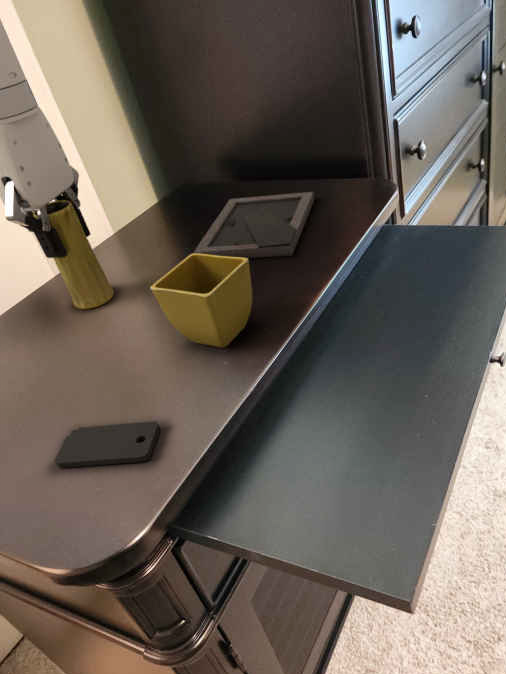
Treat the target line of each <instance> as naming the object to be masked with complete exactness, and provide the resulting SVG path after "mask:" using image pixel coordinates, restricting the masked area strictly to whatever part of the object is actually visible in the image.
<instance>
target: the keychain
mask: <svg viewBox="0 0 506 674" xmlns="http://www.w3.org/2000/svg"><path fill="white" fill-rule="evenodd" d="M160 430H161V427H160V426H159V423H158V422H157V421H156V420H155V421H142V422H130V423H119V424H105V425H95V426H84V427H78V429H77V430H76V429H75V430H74V429H73V430H72V431H71V432H70V434H69V435H66V437H65V439H64V441H63V442H62V445H61V447H60V449H59V450H58V452H57V454H56V456H55V458H54V463H55V464H56V466H57V467H58V468H60V469H62V468H74V467H88V466H89V467H90V466H102V465H116V464H129V463H130V464H131V463H143V462H147V461H148V460H150V458H151V457H152V453H153V451H154V447H155V444H156V441H157V439H158V437H159V436H158V435H159V432H160Z"/></svg>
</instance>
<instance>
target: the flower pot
mask: <svg viewBox="0 0 506 674" xmlns="http://www.w3.org/2000/svg"><path fill="white" fill-rule="evenodd" d="M150 291H151V292H152V294H153V296H154V297H155V299H156V301H157V303H158V304H159V306H160V308H161V310H162V311H163V314H164V315H165V317H166V318H167V319H168V321H169V323H171V325H172V326H173V327H174V328H175V329H176V330H177V332H179V333H180V334H181V335H182V336H184V337H186V338H187V339H188V340H190V341H192V342H193V343H194V344H201V345H206V346H210V347H211V346H212V347H216V348H222V349H223V348H226V347H228V346H229V345H230V343H231V342H232V341H233V340H234V339H235V338H236V337H238V335H239V334H240V333H241V332H242V331H243V330H244V329H245V327H246V325H247V323H248V321H249V318H250V315H251V311H252V305H253V285H252V278H251V269H250V260H249V258H242V257H229V256H216V255H209V254H200V253H194V252H193V253H190V254H189V255H187V256H186V257H185V258H184V259H183V260H182V261H180V262H179V263H178V264H177V265H176V266H174V267H173V268H171V270H169V271H168V272H167V273H166V274H164V275H163V276H162V277H161V278H159V279H158V280H156V282H154V283H153V284H152V285H151V286H150Z"/></svg>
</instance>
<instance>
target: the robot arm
mask: <svg viewBox="0 0 506 674" xmlns="http://www.w3.org/2000/svg"><path fill="white" fill-rule="evenodd" d="M79 177H80V175H79V171H78V170H77V169H76V168H74V167H73V166H72V165H71V164H70V162H69V160H68V157H67V155H66V152H65V150H64V149H63V146H62V144H61V142H60V140H59V138H58V136H57V134H56V133H55V131H54V129H53V127H52V125H51V123H50V122H49V120H48V118H47V116H46V115H45V113H44V111H43V110H42V109H41V107H40V106H39V104H38V102H37V100H36V98H35V94H34V92H33V91H32V88H31V86H30V83H29V81H28V79H27V77H26V75H25V73H24V70H23V67H22V66H21V63H20V60H19V59H18V57H17V54H16V51H15V50H14V46H13V44H12V43H11V40H10V38H9V35H8V33H7V31H6V28H5V27H4V25H3V22H2V20H1V18H0V200H1V202H2V204H3V205H4V208H5V209H4V216H5V217H4V218H5V220H6V221H8V222H11V223H13V224H16V225H19V226H20V227H22V228H25V229H26V230H27V231H28V232H29V233H33V234H34V236H35V238H36V240H37V242H38V243H39V246H40V248H41V249H42V251H43V253H44V256H45V257H46V258H48V259H54V258H64V257H66V256H67V251H66V249H65V247H64V245H63V243H62V241H61V239H60V237H59V235H58V233H57V230H56V229H55V228H51V226H50V222H49V218H48V214H47V210H46V206H45V205H46V204H48V203H50V202H53V200H54V201H59V200H68V201H70V202H71V204H72V206H73V208H74V210H75V212H76V214H77V216H78V219H79V221H80V223H81V226H82V228H83V231H84V233H85V235H86V237H87V238H88V237H89V236H91V231H90V229H89V227H88V225H87V222H86V220H85V218H84V215H83V213H82V211H81V208H80V207H81V201H80V199H79V187H78V186H79ZM33 211H37V214H38V218H39V219H37V218H35V217H34V215H33Z"/></svg>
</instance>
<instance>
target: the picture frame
mask: <svg viewBox="0 0 506 674" xmlns="http://www.w3.org/2000/svg"><path fill="white" fill-rule="evenodd" d="M314 203H315V196H314V191H306V192H305V191H304V192H294V193H283V194H273V195H272V194H271V195H261V196H249V197H239V198H229V199H228V201H227V202H226V204H225V205H224V206H223V209H222V210H221V211H220V213H219V215H217V217H216V219H215V220H214V221H213V223H212V224H211V226H210V228H208V230H207V232H206V233H205V235H204V236H203V237H202V238H201V241H200V242H199V244H198V245H197V247H196V248H195V249H194V250H193V253H200V254H209V255H216V256H229V257H242V258H248V259H256V258H272V257H274V258H275V257H288V256H293V255H294V252H295V251H296V247H297V245H298V243H299V240H300V236H301V235H302V232H303V230H304V227H305V224H306V223H307V219H308V217H309V215H310V212H311V210H312V207H313V204H314Z"/></svg>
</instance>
